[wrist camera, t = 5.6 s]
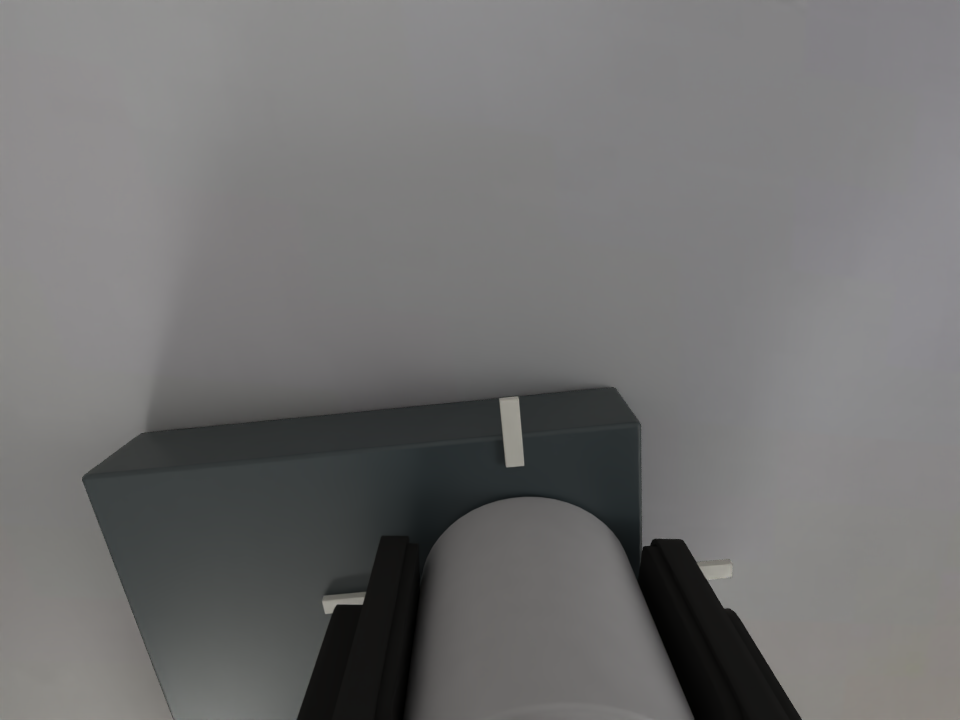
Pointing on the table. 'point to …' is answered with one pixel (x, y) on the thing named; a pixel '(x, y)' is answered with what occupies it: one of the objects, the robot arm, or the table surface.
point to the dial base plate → (330, 524)
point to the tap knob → (536, 623)
